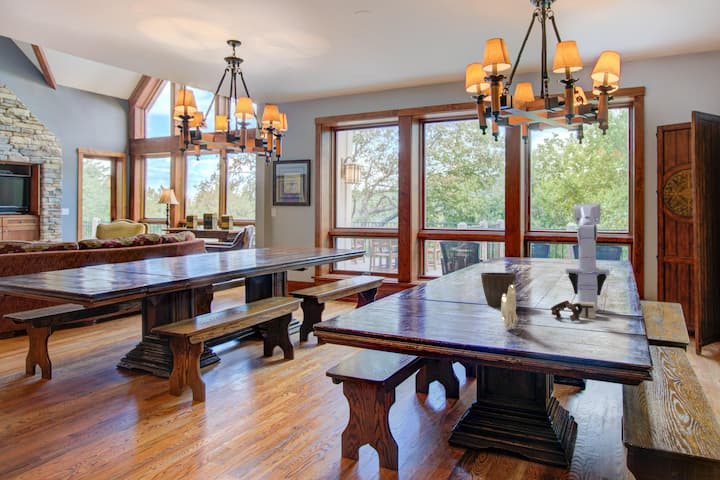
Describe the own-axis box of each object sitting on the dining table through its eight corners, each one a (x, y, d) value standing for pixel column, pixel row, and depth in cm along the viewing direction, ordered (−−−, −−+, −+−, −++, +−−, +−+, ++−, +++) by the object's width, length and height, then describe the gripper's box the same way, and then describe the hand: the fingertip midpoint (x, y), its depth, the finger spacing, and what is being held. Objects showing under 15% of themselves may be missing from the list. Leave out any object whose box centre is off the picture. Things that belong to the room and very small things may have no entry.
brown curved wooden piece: (567, 323, 180) (556, 303, 183) (554, 331, 188) (543, 311, 191) (592, 313, 183) (581, 294, 186) (578, 321, 192) (567, 302, 195)
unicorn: (497, 322, 182) (497, 276, 182) (508, 322, 181) (508, 276, 181) (508, 332, 162) (508, 280, 162) (520, 332, 162) (520, 281, 162)
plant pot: (520, 312, 206) (520, 274, 206) (485, 312, 206) (485, 274, 206) (510, 307, 221) (510, 272, 221) (477, 307, 221) (477, 272, 221)
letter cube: (578, 316, 196) (578, 301, 196) (595, 317, 193) (595, 302, 193) (578, 318, 190) (578, 303, 190) (595, 319, 188) (595, 304, 188)
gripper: (563, 257, 180) (563, 294, 180) (607, 258, 172) (607, 296, 172) (568, 256, 186) (568, 292, 186) (610, 257, 177) (610, 294, 177)
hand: (587, 294), depth 179 cm, fingers open, 7 cm apart
